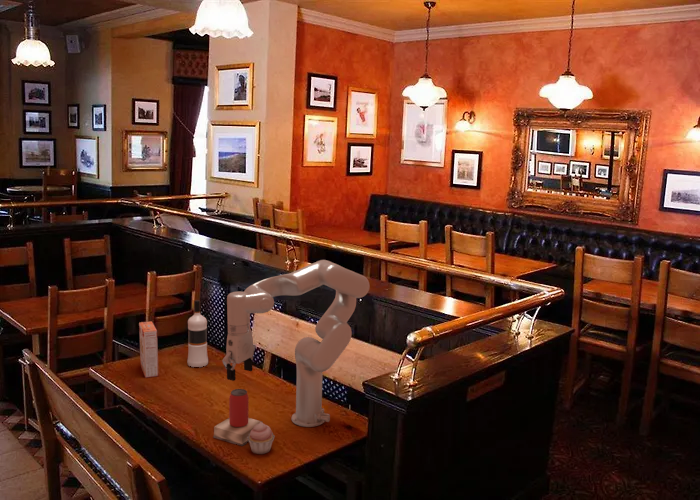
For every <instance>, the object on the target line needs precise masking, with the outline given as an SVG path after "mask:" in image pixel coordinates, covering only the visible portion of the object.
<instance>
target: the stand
mask: <svg viewBox="0 0 700 500" xmlns="http://www.w3.org/2000/svg"><path fill="white" fill-rule="evenodd" d="M260 422H262V423H263V421H261V420H257V419H254V418H250V417H248V424H247V425H246V426H244V427H233V426H231V425H230V423H229V417H228V418H227V419H225V420H223V421H222V422H220V423H218V424H216V425H215V426H214V427H213V435H212V437H213V438H214V439H217V440H220V441H223V442H227V443H230V444H234V445H236V444H237V446H240V447H243V446H245V445H246V444H248V443H249V440H248V439H247V437H248V436H249V434H250V432H251V430H252V429H253V427H254V426H255V425H257V424H259V423H260ZM247 442H248V443H247Z"/></svg>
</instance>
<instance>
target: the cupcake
mask: <svg viewBox="0 0 700 500" xmlns="http://www.w3.org/2000/svg"><path fill="white" fill-rule="evenodd" d="M247 439H248V440H249V442H248V443H249V446H250V449H251V452H252V453H253V454H257V455H264V454H268V453H269V452H270V451H271V448H272V445H273V442H274V439H275V435H274V433H273V431H272V429H271V427H270V426H269V425H267V424H265V423H263V421H262V422H260V423H259V424H257V425H255V426H254V427H253V429H252V430H251V432H250V434H249V436H248V437H247Z"/></svg>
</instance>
